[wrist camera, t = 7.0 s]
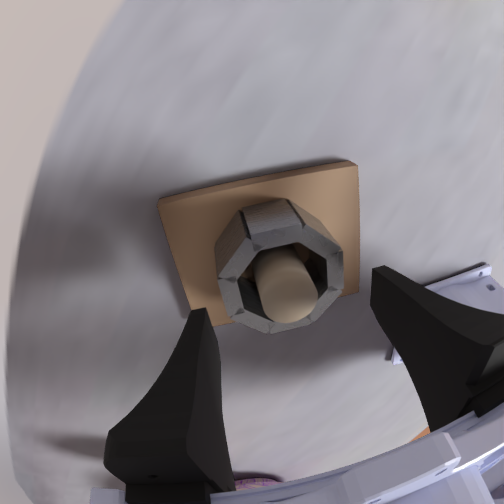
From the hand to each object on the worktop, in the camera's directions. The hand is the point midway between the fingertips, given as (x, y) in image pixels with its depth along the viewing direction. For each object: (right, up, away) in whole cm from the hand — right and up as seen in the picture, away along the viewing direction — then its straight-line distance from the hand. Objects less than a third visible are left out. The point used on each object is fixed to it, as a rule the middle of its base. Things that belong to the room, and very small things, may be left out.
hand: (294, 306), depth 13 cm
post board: (-1, +3, +5) cm, 5 cm away
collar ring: (-1, +2, +4) cm, 4 cm away
